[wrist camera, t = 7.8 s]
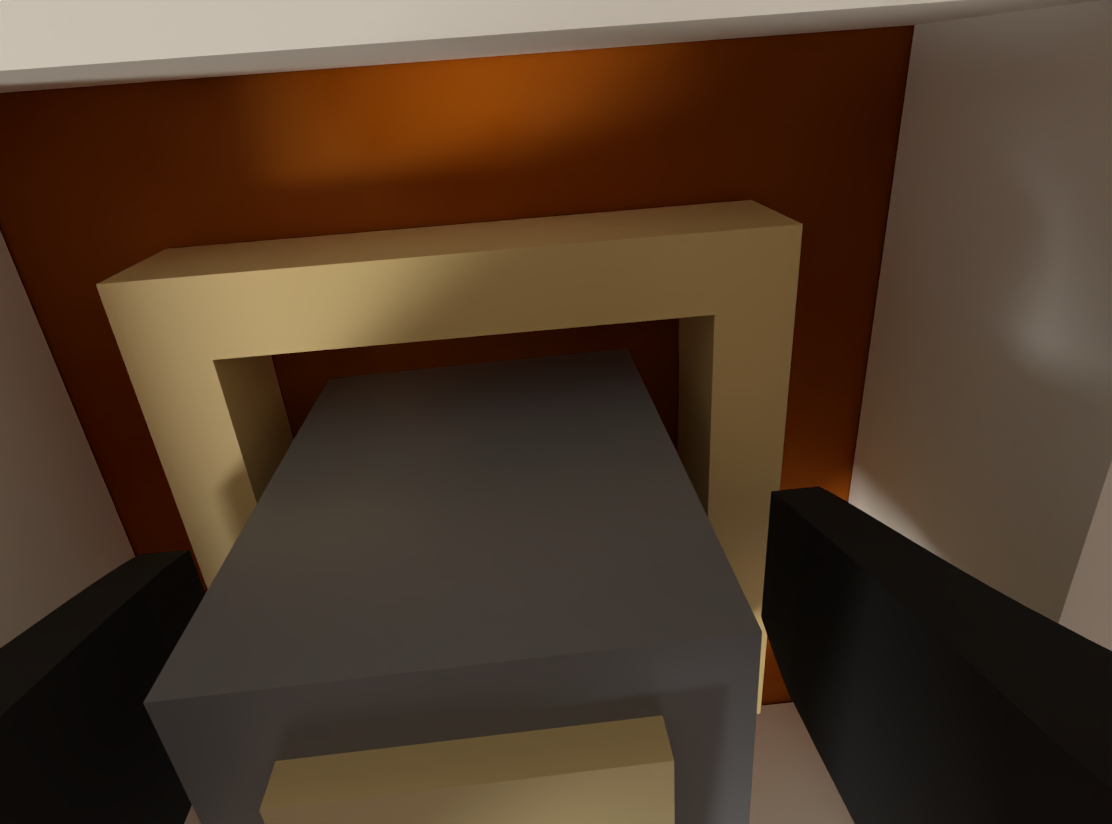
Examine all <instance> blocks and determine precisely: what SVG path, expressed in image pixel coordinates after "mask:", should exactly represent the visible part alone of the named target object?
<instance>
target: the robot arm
mask: <svg viewBox="0 0 1112 824" xmlns="http://www.w3.org/2000/svg"><path fill="white" fill-rule="evenodd" d="M204 596H205V592H204V589H203V586H202V583H201V581H200V578H199V575H198V573H197V570H196V567H195V565H194V562H193V559H192V556H191V554H190V551H189V550H182V551H172V552H162V553H152V554H142V555H137V556H136V557H134V558H132V559H130V560H129V561H127V562H125V563H124V564H122V565H120V566H119V567H117V568H116V569H114V570H112V571H111V572H109V573H108V574H106V575H105V576H103V577H102V578H100V579H99V580H97V581H96V582H94V583H93V584H91V585H90V586H88V587H87V588H85V589H84V590H82V591H81V592H79V593H78V594H77V595H75V596H74V597H72V598H71V599H69V600H68V601H67V602H65V603H64V604H62V605H61V606H59V607H58V608H57V609H55V610H54V611H52V612H51V613H49V614H48V615H47V616H45V617H44V618H42V619H41V620H40V621H38V622H37V623H35V624H34V625H32V626H31V627H30V628H28V629H27V630H25V631H24V632H22V633H21V634H20V635H18V636H17V637H15V638H14V639H13V640H11V641H10V642H8V643H7V644H5V645H4V646H3V647H1V648H0V824H184V823H185V821H186V818H187V816H188V813H189V811H190V808H191V806H192V804H191V802H190V800H189V798H188V796H187V793H186V791H185V789H184V787H183V785H182V783H181V781H180V779H179V777H178V775H177V773H176V771H175V768H174V766H173V764H172V762H171V760H170V758H169V756H168V754H167V752H166V750H165V748H164V745H163V743H162V741H161V739H160V737H159V735H158V733H157V731H156V729H155V727H154V725H153V722H152V720H151V718H150V716H149V714H148V712H147V710H146V708H145V706H144V704H143V702H144V701H145V699H146V697H147V695H148V694H149V692H150V690H151V688H152V687H153V685H154V683H155V681H156V680H157V678H158V676H159V674H160V673H161V671H162V669H163V667H164V666H165V664H166V662H167V660H168V659H169V657H170V655H171V653H172V652H173V650H174V648H175V646H176V645H177V643H178V641H179V639H180V638H181V636H182V634H183V632H184V631H185V629H186V627H187V625H188V624H189V622H190V620H191V618H192V617H193V615H194V613H195V611H196V610H197V608H198V606H199V604H200V603H201V601H202V599H203V597H204ZM761 618H762V621H763V624H764V627H765V630H766V633H767V636H768V639H769V641H770V644H771V647H772V650H773V653H774V656H775V659H776V661H777V664H778V667H779V669H780V672H781V675H782V677H783V680H784V683H785V685H786V688H787V691H788V693H789V695H790V697H791V699H792V701H793V703H794V705H795V707H796V709H797V711H798V713H799V715H800V717H801V719H802V721H803V723H804V725H805V727H806V729H807V731H808V733H809V735H810V737H811V739H812V741H813V743H814V745H815V747H816V749H817V751H818V753H819V755H820V757H821V759H822V761H823V763H824V765H825V767H826V769H827V771H828V773H829V774H830V776H831V778H832V780H833V782H834V784H835V786H836V788H837V790H838V792H839V794H840V796H841V798H842V800H843V802H844V804H845V806H846V808H847V810H848V812H849V814H850V816H851V818H852V820H853V822H854V823H855V824H1112V651H1111V650H1109V649H1107V648H1105V647H1103V646H1101V645H1099V644H1097V643H1095V642H1093V641H1091V640H1089V639H1087V638H1085V637H1083V636H1081V635H1079V634H1078V633H1076V632H1074V631H1072V630H1070V629H1068V628H1066V627H1064V626H1062V625H1060V624H1059V623H1057V622H1055V621H1053V620H1051V619H1049V618H1047V617H1045V616H1043V615H1042V614H1040V613H1038V612H1036V611H1034V610H1032V609H1030V608H1028V607H1026V606H1024V605H1023V604H1021V603H1019V602H1017V601H1015V600H1014V599H1012V598H1010V597H1008V596H1006V595H1005V594H1003V593H1001V592H999V591H997V590H996V589H994V588H992V587H990V586H988V585H987V584H985V583H983V582H981V581H980V580H978V579H976V578H974V577H973V576H971V575H969V574H968V573H966V572H964V571H962V570H961V569H959V568H957V567H956V566H954V565H952V564H950V563H949V562H947V561H945V560H944V559H942V558H940V557H938V556H937V555H935V554H933V553H932V552H930V551H928V550H927V549H925V548H923V547H922V546H920V545H918V544H917V543H915V542H913V541H912V540H910V539H908V538H907V537H905V536H903V535H902V534H900V533H898V532H897V531H895V530H893V529H892V528H890V527H888V526H887V525H885V524H884V523H882V522H880V521H879V520H877V519H875V518H874V517H872V516H870V515H869V514H867V513H865V512H864V511H862V510H860V509H858V508H857V507H855V506H853V505H852V504H850V503H848V502H847V501H845V500H843V499H841V498H840V497H838V496H836V495H834V494H832V493H830V492H829V491H827V490H825V489H823V488H821V487H809V488H799V489H789V490H779V491H771V499H770V512H769V524H768V537H767V549H766V562H765V574H764V586H763V599H762V611H761Z"/></svg>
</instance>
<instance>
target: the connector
mask: <svg viewBox="0 0 1112 824" xmlns="http://www.w3.org/2000/svg"><path fill="white" fill-rule="evenodd" d="M761 642H762V630H761V628H760V626H759V624H758V622H757V620H756V618H755V616H754V614H753V611H752V609H751V607H750V605H749V603H748V601H747V599H746V597H745V595H744V593H743V590H742V588H741V586H740V584H739V582H738V580H737V578H736V576H735V574H734V571H733V569H732V567H731V565H730V563H729V561H728V559H727V557H726V555H725V553H724V550H723V548H722V546H721V544H720V542H719V540H718V538H717V536H716V534H715V532H714V529H713V527H712V525H711V523H710V521H709V519H708V517H707V515H706V513H705V511H704V508H703V506H702V504H701V502H700V500H699V498H698V496H697V494H696V492H695V489H694V487H693V485H692V483H691V481H690V479H689V477H688V475H687V473H686V471H685V468H684V466H683V464H682V462H681V460H680V458H679V456H678V454H677V452H676V450H675V447H674V445H673V443H672V441H671V439H670V437H669V435H668V433H667V431H666V429H665V426H664V424H663V422H662V420H661V418H660V416H659V414H658V412H657V410H656V407H655V405H654V403H653V401H652V399H651V397H650V395H649V393H648V391H647V389H646V386H645V384H644V382H643V380H642V378H641V376H640V374H639V372H638V370H637V368H636V365H635V363H634V361H633V359H632V357H631V355H630V353H629V351H628V349H627V348H623V349H614V350H604V351H594V352H584V353H575V354H565V355H555V356H545V357H535V358H526V359H516V360H506V361H496V362H486V363H477V364H467V365H457V366H447V367H438V368H428V369H418V370H408V371H398V372H389V373H379V374H369V375H359V376H349V377H340V378H330V379H328V381H327V382H326V384H325V386H324V388H323V389H322V391H321V393H320V395H319V396H318V398H317V400H316V402H315V403H314V405H313V407H312V409H311V410H310V412H309V414H308V416H307V417H306V419H305V421H304V423H303V424H302V426H301V428H300V430H299V431H298V433H297V435H296V437H295V438H294V440H293V442H292V444H291V445H290V447H289V449H288V451H287V452H286V454H285V456H284V458H283V459H282V461H281V463H280V465H279V466H278V468H277V470H276V472H275V473H274V475H273V477H272V479H271V480H270V482H269V484H268V486H267V487H266V489H265V491H264V492H263V494H262V496H261V498H260V499H259V501H258V503H257V505H256V506H255V508H254V510H253V512H252V513H251V515H250V517H249V519H248V520H247V522H246V524H245V526H244V527H243V529H242V531H241V533H240V534H239V536H238V538H237V540H236V541H235V543H234V545H233V547H232V548H231V550H230V552H229V554H228V555H227V557H226V559H225V561H224V562H223V564H222V566H221V568H220V569H219V571H218V573H217V575H216V576H215V578H214V580H213V582H212V583H211V585H210V587H209V589H208V590H207V592H206V594H205V596H204V597H203V599H202V601H201V603H200V604H199V606H198V608H197V610H196V611H195V613H194V615H193V617H192V618H191V620H190V622H189V624H188V625H187V627H186V629H185V631H184V632H183V634H182V636H181V638H180V639H179V641H178V643H177V645H176V646H175V648H174V650H173V652H172V653H171V655H170V657H169V659H168V660H167V662H166V664H165V666H164V667H163V669H162V671H161V673H160V674H159V676H158V678H157V680H156V681H155V683H154V685H153V687H152V688H151V690H150V692H149V694H148V695H147V697H146V699H145V701H144V702H143V704H144V706H145V708H146V710H147V712H148V714H149V716H150V718H151V720H152V722H153V725H154V727H155V729H156V731H157V733H158V735H159V737H160V739H161V741H162V743H163V745H164V748H165V750H166V752H167V754H168V756H169V758H170V760H171V762H172V764H173V766H174V768H175V771H176V773H177V775H178V777H179V779H180V781H181V783H182V785H183V787H184V789H185V791H186V793H187V796H188V798H189V800H190V802H191V804H192V806H193V808H194V810H195V812H196V814H197V816H198V819H199V821H200V823H201V824H749V818H750V803H751V788H752V774H753V759H754V744H755V730H756V715H757V700H758V686H759V671H760V656H761Z"/></svg>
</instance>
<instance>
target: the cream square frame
mask: <svg viewBox="0 0 1112 824" xmlns="http://www.w3.org/2000/svg"><path fill="white" fill-rule="evenodd" d="M908 25H915V26H914V33H913V40H912V47H911V55H910V62H909V69H908V76H907V83H906V90H905V98H904V105H903V112H902V119H901V126H900V134H899V141H898V148H897V155H896V162H895V170H894V177H893V184H892V191H891V198H890V205H889V213H888V220H887V227H886V234H885V241H884V249H883V256H882V263H881V270H880V277H879V284H878V292H877V299H876V306H875V313H874V320H873V328H872V335H871V342H870V349H869V356H868V364H867V371H866V378H865V385H864V392H863V399H862V407H861V414H860V421H859V428H858V435H857V443H856V450H855V457H854V464H853V471H852V478H851V486H850V493H849V500H848V503H850V504H852V505H853V506H855V507H857V508H858V509H860V510H862V511H864V512H865V513H867V514H869V515H870V516H872V517H874V518H875V519H877V520H879V521H880V522H882V523H884V524H885V525H887V526H888V527H890V528H892V529H893V530H895V531H897V532H898V533H900V534H902V535H903V536H905V537H907V538H908V539H910V540H912V541H913V542H915V543H917V544H918V545H920V546H922V547H923V548H925V549H927V550H928V551H930V552H932V553H933V554H935V555H937V556H938V557H940V558H942V559H944V560H945V561H947V562H949V563H950V564H952V565H954V566H956V567H957V568H959V569H961V570H962V571H964V572H966V573H968V574H969V575H971V576H973V577H974V578H976V579H978V580H980V581H981V582H983V583H985V584H987V585H988V586H990V587H992V588H994V589H996V590H997V591H999V592H1001V593H1003V594H1005V595H1006V596H1008V597H1010V598H1012V599H1014V600H1015V601H1017V602H1019V603H1021V604H1023V605H1024V606H1026V607H1028V608H1030V609H1032V610H1034V611H1036V612H1038V613H1040V614H1042V615H1043V616H1045V617H1047V618H1049V619H1051V620H1053V621H1055V622H1057V623H1059V624H1060V625H1062V626H1064V627H1066V628H1068V629H1070V630H1072V631H1074V632H1076V633H1078V634H1079V635H1081V636H1083V637H1085V638H1087V639H1089V640H1091V641H1093V642H1095V643H1097V644H1099V645H1101V646H1103V647H1105V648H1107V649H1109V650H1111V651H1112V0H0V93H6V92H20V91H33V90H47V89H60V88H74V87H87V86H101V85H114V84H127V83H141V82H154V81H168V80H181V79H195V78H208V77H222V76H235V75H248V74H262V73H275V72H289V71H302V70H316V69H329V68H343V67H356V66H370V65H383V64H396V63H410V62H423V61H437V60H450V59H464V58H477V57H491V56H504V55H517V54H531V53H544V52H558V51H571V50H585V49H598V48H612V47H625V46H639V45H652V44H665V43H679V42H692V41H706V40H719V39H733V38H746V37H760V36H773V35H786V34H800V33H813V32H827V31H840V30H854V29H867V28H881V27H894V26H908ZM802 229H803V224H802V223H799V222H797V221H795V220H793V219H791V218H789V217H787V216H785V215H782V214H780V213H778V212H776V211H774V210H772V209H770V208H768V207H766V206H763V205H761V204H759V203H757V202H755V201H753V200H743V201H731V202H719V203H708V204H696V205H684V206H672V207H660V208H648V209H636V210H624V211H612V212H600V213H588V214H576V215H564V216H552V217H540V218H528V219H516V220H504V221H492V222H480V223H469V224H457V225H445V226H433V227H421V228H409V229H397V230H385V231H373V232H361V233H349V234H337V235H325V236H313V237H301V238H289V239H277V240H265V241H253V242H241V243H229V244H218V245H206V246H194V247H182V248H170V249H164V250H162V251H160V252H158V253H157V254H155V255H153V256H151V257H149V258H147V259H145V260H143V261H141V262H139V263H137V264H135V265H133V266H131V267H129V268H127V269H125V270H123V271H121V272H119V273H117V274H115V275H113V276H111V277H109V278H107V279H105V280H103V281H101V282H99V283H98V284H96V287H97V290H98V292H99V295H100V298H101V300H102V303H103V306H104V309H105V311H106V314H107V317H108V319H109V322H110V325H111V328H112V330H113V333H114V336H115V339H116V341H117V344H118V347H119V349H120V352H121V355H122V358H123V360H124V363H125V366H126V368H127V371H128V374H129V377H130V379H131V382H132V385H133V388H134V390H135V393H136V396H137V398H138V401H139V404H140V407H141V409H142V412H143V415H144V417H145V420H146V423H147V426H148V428H149V431H150V434H151V437H152V439H153V442H154V445H155V447H156V450H157V453H158V456H159V458H160V461H161V464H162V466H163V469H164V472H165V475H166V477H167V480H168V483H169V486H170V488H171V491H172V494H173V496H174V499H175V502H176V505H177V507H178V510H179V513H180V515H181V518H182V521H183V524H184V526H185V529H186V532H187V535H188V537H189V540H190V543H191V545H192V548H193V551H194V554H195V556H196V559H197V562H198V564H199V567H200V570H201V573H202V575H203V578H204V581H205V584H206V586H207V589H209V587H210V585H211V583H212V582H213V580H214V578H215V576H216V575H217V573H218V571H219V569H220V568H221V566H222V564H223V562H224V561H225V559H226V557H227V555H228V554H229V552H230V550H231V548H232V547H233V545H234V543H235V541H236V540H237V538H238V536H239V534H240V533H241V531H242V529H243V527H244V526H245V524H246V522H247V520H248V519H249V517H250V515H251V513H252V512H253V510H254V508H255V506H256V505H257V503H258V501H259V499H260V498H261V496H262V494H263V492H264V491H265V489H266V487H267V486H268V484H269V482H270V480H271V479H272V477H273V475H274V473H275V472H276V470H277V468H278V466H279V465H280V463H281V461H282V459H283V458H284V456H285V454H286V452H287V451H288V449H289V447H290V445H291V444H292V442H293V436H292V432H291V428H290V425H289V421H288V417H287V413H286V410H285V406H284V402H283V398H282V395H281V391H280V387H279V383H278V380H277V376H276V372H275V368H274V364H273V361H272V357H271V355H274V354H285V353H296V352H307V351H318V350H330V349H341V348H352V347H363V346H374V345H385V344H396V343H407V342H418V341H429V340H441V339H452V338H463V337H474V336H485V335H496V334H507V333H518V332H529V331H541V330H552V329H563V328H574V327H585V326H596V325H607V324H618V323H629V322H640V321H652V320H663V319H674V318H679V375H678V456H679V458H680V460H681V462H682V464H683V466H684V468H685V471H686V473H687V475H688V477H689V479H690V481H691V483H692V485H693V487H694V489H695V492H696V494H697V496H698V498H699V500H700V502H701V504H702V506H703V508H704V511H705V513H706V515H707V517H708V519H709V521H710V523H711V525H712V527H713V529H714V532H715V534H716V536H717V538H718V540H719V542H720V544H721V546H722V548H723V550H724V553H725V555H726V557H727V559H728V561H729V563H730V565H731V567H732V569H733V571H734V574H735V576H736V578H737V580H738V582H739V584H740V586H741V588H742V590H743V593H744V595H745V597H746V599H747V601H748V603H749V605H750V607H751V609H752V611H753V614H754V616H755V618H756V620H757V622H758V624H759V626H760V628H761V630H762V642H761V656H760V671H759V686H758V700H757V715H756V730H755V744H754V759H753V774H752V788H751V803H750V818H749V824H855V823H854V822H853V820H852V818H851V816H850V814H849V812H848V810H847V808H846V806H845V804H844V802H843V800H842V798H841V796H840V794H839V792H838V790H837V788H836V786H835V784H834V782H833V780H832V778H831V776H830V774H829V773H828V771H827V769H826V767H825V765H824V763H823V761H822V759H821V757H820V755H819V753H818V751H817V749H816V747H815V745H814V743H813V741H812V739H811V737H810V735H809V733H808V731H807V729H806V727H805V725H804V723H803V721H802V719H801V717H800V715H799V713H798V711H797V709H796V707H795V705H794V703H793V702H790V703H781V704H772V705H764V706H761V701H762V689H763V678H764V666H765V654H766V643H767V633H766V630H765V627H764V624H763V621H762V618H761V611H762V599H763V586H764V574H765V562H766V549H767V537H768V524H769V512H770V499H771V491H779V490H780V482H781V470H782V459H783V447H784V436H785V424H786V413H787V401H788V390H789V378H790V367H791V355H792V344H793V332H794V321H795V309H796V298H797V286H798V275H799V263H800V252H801V240H802ZM134 557H135V554H134V552H133V550H132V547H131V545H130V542H129V540H128V538H127V535H126V533H125V530H124V528H123V525H122V523H121V521H120V518H119V516H118V513H117V511H116V509H115V506H114V504H113V501H112V499H111V497H110V494H109V492H108V489H107V487H106V484H105V482H104V480H103V477H102V475H101V472H100V470H99V468H98V465H97V463H96V460H95V458H94V456H93V453H92V451H91V448H90V446H89V443H88V441H87V439H86V436H85V434H84V431H83V429H82V427H81V424H80V422H79V419H78V417H77V415H76V412H75V410H74V407H73V405H72V402H71V400H70V398H69V395H68V393H67V390H66V388H65V386H64V383H63V381H62V378H61V376H60V374H59V371H58V369H57V366H56V364H55V361H54V359H53V357H52V354H51V352H50V349H49V347H48V345H47V342H46V340H45V337H44V335H43V333H42V330H41V328H40V325H39V323H38V320H37V318H36V316H35V313H34V311H33V308H32V306H31V304H30V301H29V299H28V296H27V294H26V291H25V289H24V287H23V284H22V282H21V279H20V277H19V275H18V272H17V270H16V267H15V265H14V263H13V260H12V258H11V255H10V253H9V250H8V248H7V246H6V243H5V241H4V238H3V236H2V234H1V231H0V648H1V647H3V646H4V645H5V644H7V643H8V642H10V641H11V640H13V639H14V638H15V637H17V636H18V635H20V634H21V633H22V632H24V631H25V630H27V629H28V628H30V627H31V626H32V625H34V624H35V623H37V622H38V621H40V620H41V619H42V618H44V617H45V616H47V615H48V614H49V613H51V612H52V611H54V610H55V609H57V608H58V607H59V606H61V605H62V604H64V603H65V602H67V601H68V600H69V599H71V598H72V597H74V596H75V595H77V594H78V593H79V592H81V591H82V590H84V589H85V588H87V587H88V586H90V585H91V584H93V583H94V582H96V581H97V580H99V579H100V578H102V577H103V576H105V575H106V574H108V573H109V572H111V571H112V570H114V569H116V568H117V567H119V566H120V565H122V564H124V563H125V562H127V561H129V560H130V559H132V558H134ZM184 824H201V823H200V821H199V819H198V816H197V814H196V812H195V810H194V808H193V806H191V808H190V811H189V813H188V816H187V818H186V821H185V823H184Z"/></svg>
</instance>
